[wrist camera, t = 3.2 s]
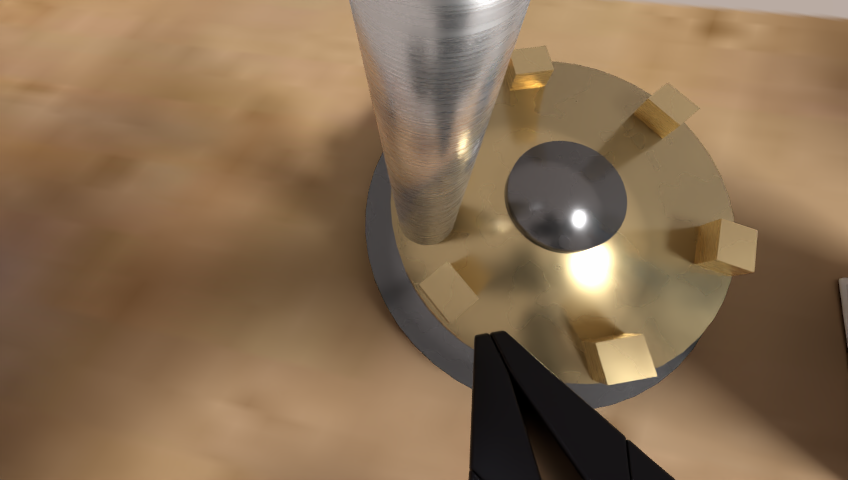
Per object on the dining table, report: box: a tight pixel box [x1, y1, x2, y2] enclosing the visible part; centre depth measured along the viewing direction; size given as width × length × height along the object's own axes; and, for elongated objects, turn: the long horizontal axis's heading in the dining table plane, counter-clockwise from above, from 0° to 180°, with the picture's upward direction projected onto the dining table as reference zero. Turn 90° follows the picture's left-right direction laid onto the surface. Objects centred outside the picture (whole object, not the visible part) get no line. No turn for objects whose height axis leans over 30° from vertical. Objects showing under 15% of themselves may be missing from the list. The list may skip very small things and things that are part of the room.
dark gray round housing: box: [366, 153, 703, 409], centre depth 16 cm, size 18×18×2 cm
